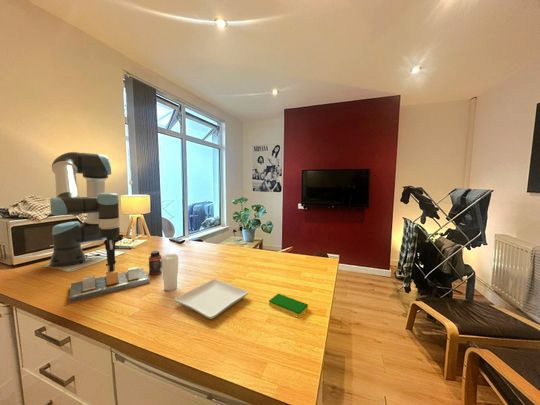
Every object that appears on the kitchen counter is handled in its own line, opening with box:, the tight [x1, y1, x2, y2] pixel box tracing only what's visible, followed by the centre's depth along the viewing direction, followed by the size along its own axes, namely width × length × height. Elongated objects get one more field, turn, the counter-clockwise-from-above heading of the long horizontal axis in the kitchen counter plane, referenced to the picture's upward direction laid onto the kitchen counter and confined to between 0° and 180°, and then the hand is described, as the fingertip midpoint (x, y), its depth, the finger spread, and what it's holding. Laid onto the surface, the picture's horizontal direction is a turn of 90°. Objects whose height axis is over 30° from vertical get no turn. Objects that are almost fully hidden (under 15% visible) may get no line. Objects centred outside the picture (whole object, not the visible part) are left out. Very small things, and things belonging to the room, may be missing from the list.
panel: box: [68, 266, 151, 304], centre depth 99 cm, size 16×28×7 cm, turn 131°
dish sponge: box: [268, 293, 309, 318], centre depth 84 cm, size 7×14×2 cm, turn 55°
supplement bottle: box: [148, 250, 163, 276], centre depth 113 cm, size 6×6×11 cm
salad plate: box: [174, 278, 249, 320], centre depth 87 cm, size 21×21×3 cm
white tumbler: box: [161, 253, 179, 292], centre depth 96 cm, size 7×7×15 cm
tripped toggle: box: [105, 269, 119, 285], centre depth 96 cm, size 2×4×5 cm, turn 131°
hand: (111, 277), depth 98 cm, fingers closed
